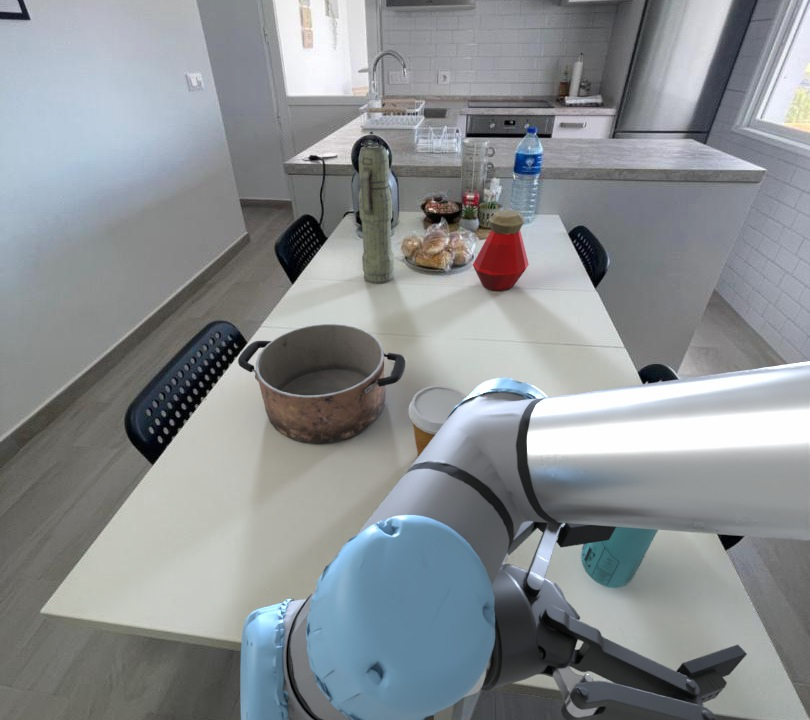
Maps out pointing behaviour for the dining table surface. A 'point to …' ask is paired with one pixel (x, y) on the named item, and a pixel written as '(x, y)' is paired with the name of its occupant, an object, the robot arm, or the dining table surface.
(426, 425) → the disposable coffee cup
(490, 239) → the bottle
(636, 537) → the beverage bottle
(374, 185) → the thermos
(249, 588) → the dining table surface
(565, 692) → the robot arm
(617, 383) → the dining table surface
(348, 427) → the cooking pot
